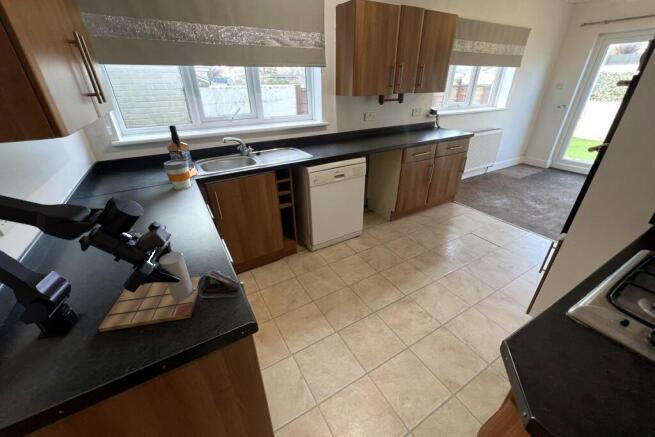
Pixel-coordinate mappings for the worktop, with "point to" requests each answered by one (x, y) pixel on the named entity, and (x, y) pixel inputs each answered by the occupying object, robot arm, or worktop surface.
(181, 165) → the reusable coffee cup
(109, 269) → the worktop surface
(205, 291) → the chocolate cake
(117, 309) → the board
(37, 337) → the robot arm
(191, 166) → the whiskey bottle
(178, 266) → the white plastic cylinder
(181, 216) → the worktop surface
